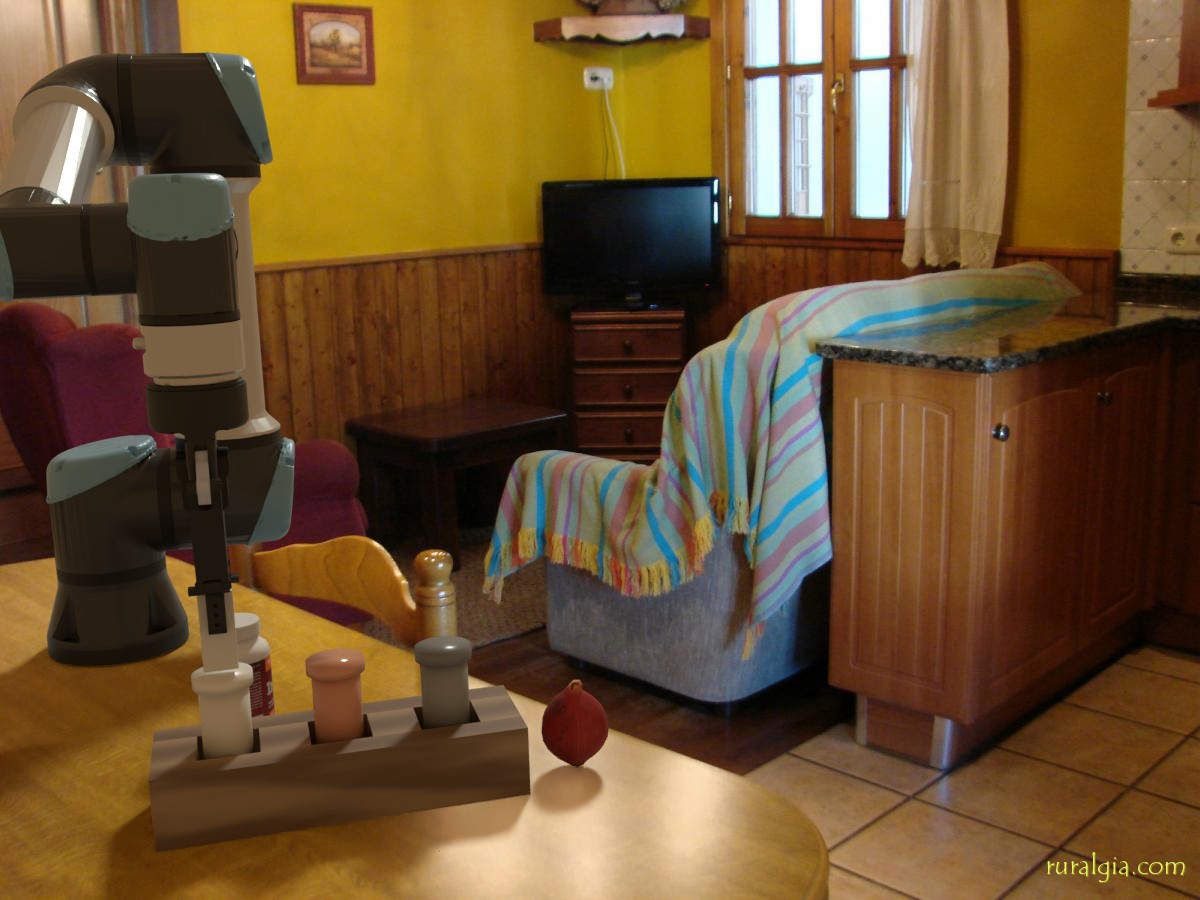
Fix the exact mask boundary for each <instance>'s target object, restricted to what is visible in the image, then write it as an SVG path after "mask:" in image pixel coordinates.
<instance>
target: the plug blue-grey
mask: <svg viewBox="0 0 1200 900" xmlns="http://www.w3.org/2000/svg"><path fill="white" fill-rule="evenodd" d="M413 651H414V661H415V662H416V664H418V665H419V673H420V686H421V690H420V692H421V696H422V709H423V727H424V730H425V729H432V728H440V727H447V726H454V725H461V724H469V723H470V704H469V689H470V687H469V667H468V664H469V663H468V662H469V660H471V659H472V657H473V655H472V654H473V652H472V651H473V650H472V642H471V641H470V640H469V639H467V638H464V637H462V636H461V637H459V636H456V635H454V636H452V635H444V636H442V635H441V636H435V637H430V638H426V639H425V638H424V639H423V640H420V641H419V642H417V643H416V644H415V645H414V646H413Z"/></svg>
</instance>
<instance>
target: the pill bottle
mask: <svg viewBox="0 0 1200 900" xmlns="http://www.w3.org/2000/svg"><path fill="white" fill-rule="evenodd" d="M234 616H235V628H236V639H237V651H238V662H241V663H246V664H249V665H250V666H251V667H252V669H253V680H254V681H253V683H252V685H251V686H249V693H250V705H251V716H252V718H253V717H261V716H268V715H276V708H275V707H276V706H275V697H274V686H273V673H272V658H271V648H270V644H269V643H268V641H267V640H266V639H265V638H263V637H262V636H259V634H260V632H261V624H260V622H261V621H260V618H259V616H258V615H256V614H255V613H251V612H234Z"/></svg>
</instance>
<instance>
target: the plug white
mask: <svg viewBox="0 0 1200 900" xmlns="http://www.w3.org/2000/svg"><path fill="white" fill-rule="evenodd" d="M190 681H191V689H192V691H193V692H194V693H196V694H197V698H198V700H197V701H198V709H199V718H200V721H199V722H200V724H201V732H202V742H203V753H204V760H207V759H214V758H221V757H228V756H236V755H243V754H250V753H255V751H254V740H253V728H252V716H251V705H250V693H249V686H251V685H252V683H253V681H254V680H253V669H252V667H251V666H250V665H249V664H246V663H241V662H239V669H230V670H222V671H214V672H205V673H204V669H203V666H201V667H200V668H197V669H195V670H193V672H192V673H191V675H190Z"/></svg>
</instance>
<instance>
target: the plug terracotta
mask: <svg viewBox="0 0 1200 900" xmlns="http://www.w3.org/2000/svg"><path fill="white" fill-rule="evenodd" d="M304 661H305V662H304V663H305V664H304V665H305V675H306V677H307V678H309V679H310V680H311V690H312V693H311V694H312V703H313V706H312V707H313V710H314V720H315V733H316V744H323V743H330V742H338V741H345V740H352V739H359V738H365V734H364V719H363V704H362V703H363V694H362V693H363V690H362V677H361V674H362V673H364V671H365V670H366V669H365V668H366V662H365V654H364V653H363V652H362V651H359V650H356V649H352V648H351V649H350V648H333V649H326V650H321V651H319V652H315V653H313V654H310V655H309V656H307V658H305V660H304Z"/></svg>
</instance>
